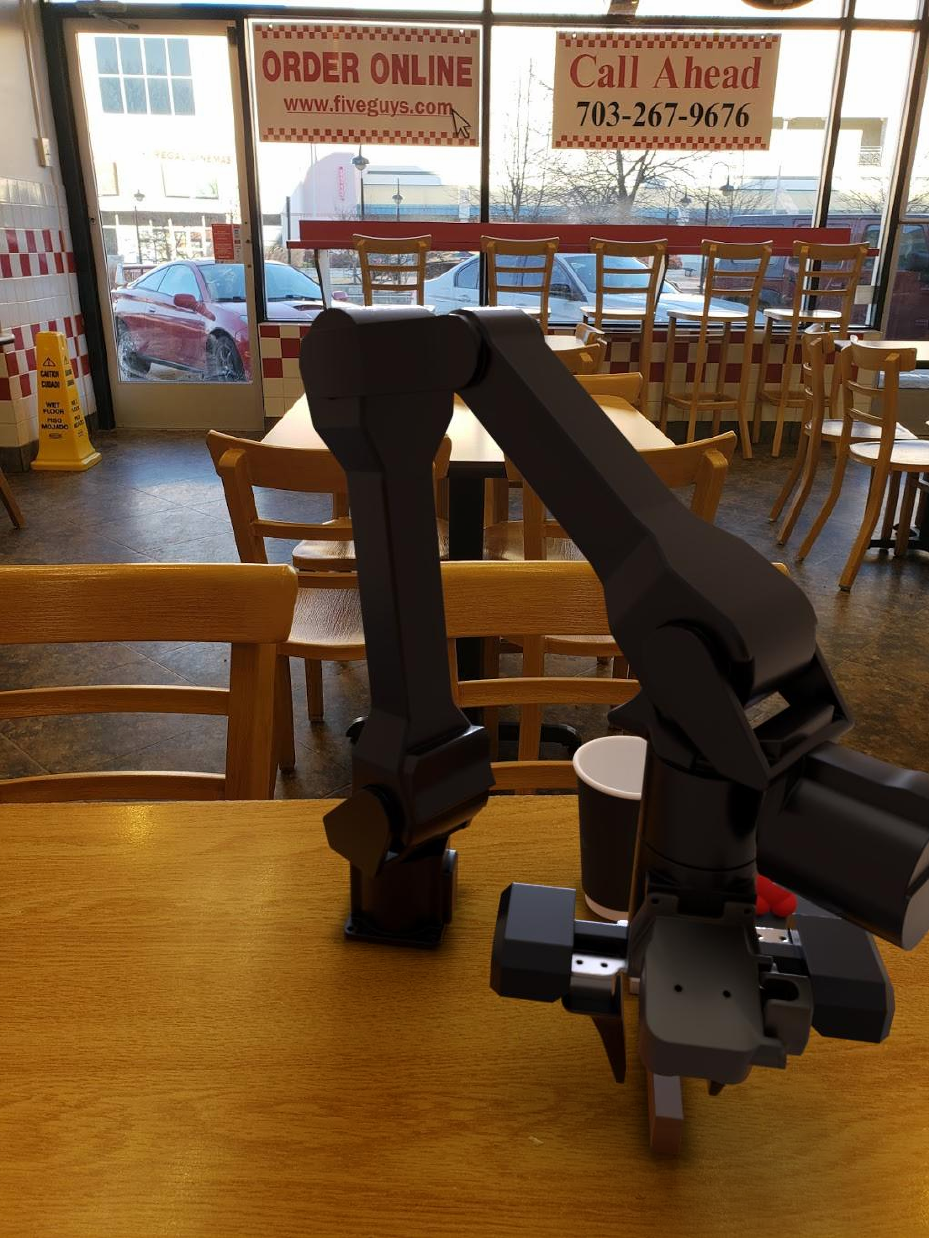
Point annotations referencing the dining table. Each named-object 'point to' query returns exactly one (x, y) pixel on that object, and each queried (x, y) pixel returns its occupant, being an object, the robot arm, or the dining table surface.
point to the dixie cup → (609, 819)
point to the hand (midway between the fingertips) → (665, 1083)
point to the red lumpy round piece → (773, 898)
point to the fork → (663, 1106)
